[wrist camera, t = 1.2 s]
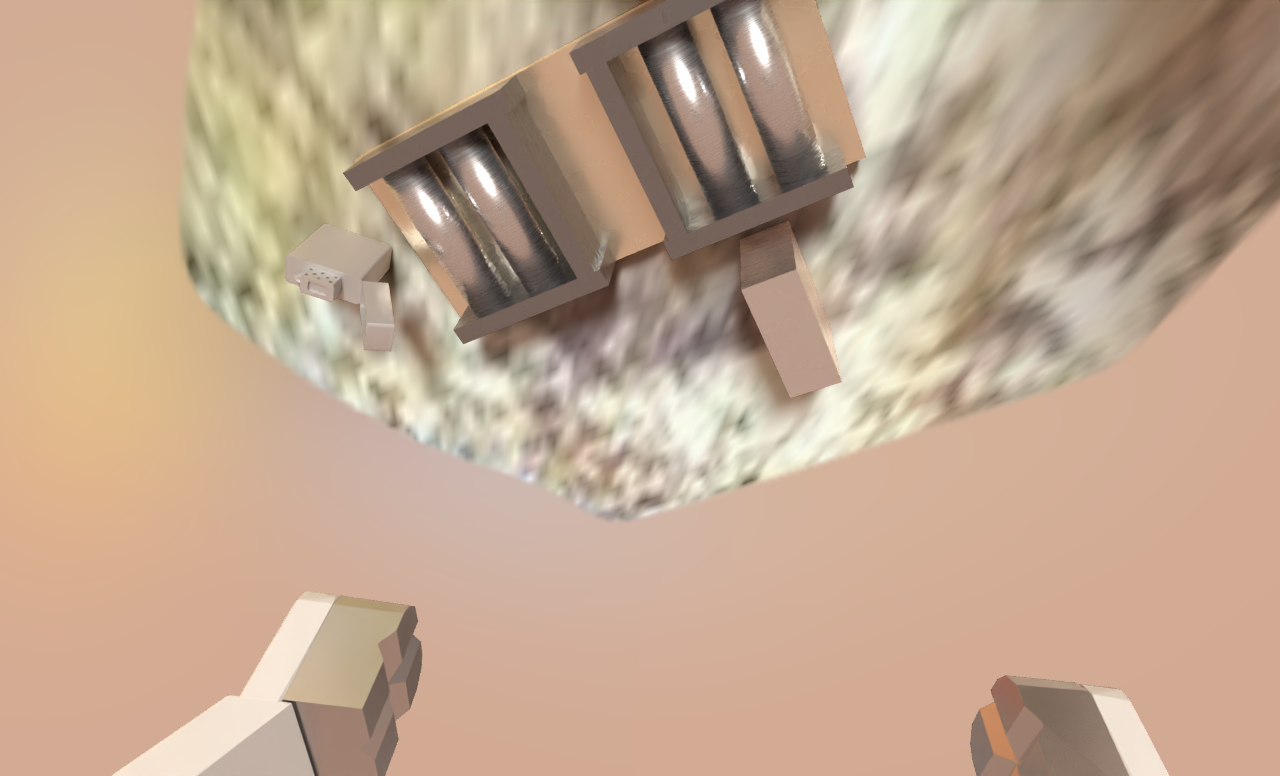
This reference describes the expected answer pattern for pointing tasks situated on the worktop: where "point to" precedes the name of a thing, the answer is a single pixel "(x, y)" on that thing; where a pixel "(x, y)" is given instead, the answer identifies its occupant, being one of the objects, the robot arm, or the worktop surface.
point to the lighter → (347, 278)
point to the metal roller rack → (618, 153)
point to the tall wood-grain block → (788, 310)
